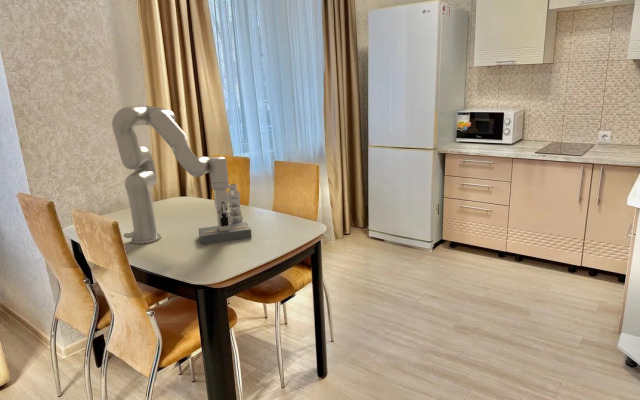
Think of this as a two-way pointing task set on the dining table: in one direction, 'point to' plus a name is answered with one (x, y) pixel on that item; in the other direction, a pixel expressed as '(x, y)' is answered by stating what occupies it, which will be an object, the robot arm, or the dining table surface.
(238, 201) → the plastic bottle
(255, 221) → the dining table surface
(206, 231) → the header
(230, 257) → the dining table surface
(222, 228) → the plug
